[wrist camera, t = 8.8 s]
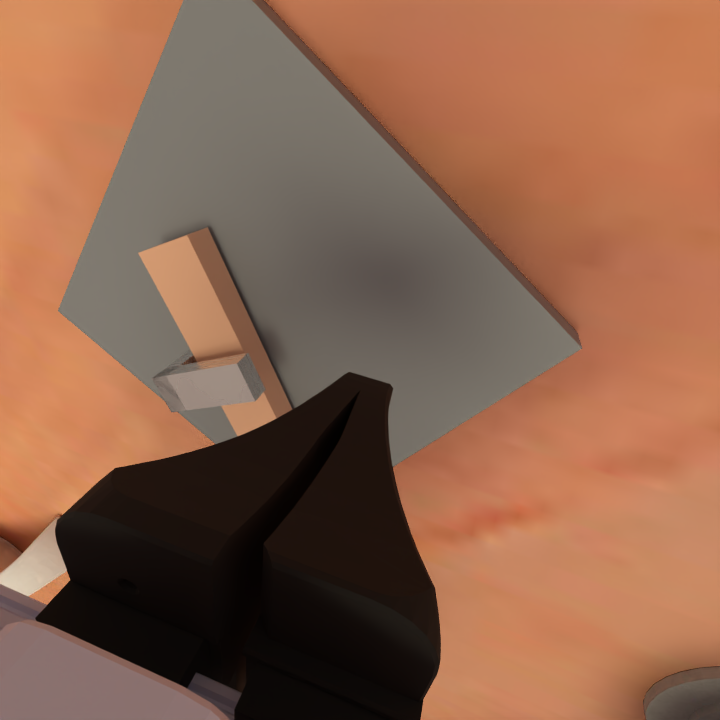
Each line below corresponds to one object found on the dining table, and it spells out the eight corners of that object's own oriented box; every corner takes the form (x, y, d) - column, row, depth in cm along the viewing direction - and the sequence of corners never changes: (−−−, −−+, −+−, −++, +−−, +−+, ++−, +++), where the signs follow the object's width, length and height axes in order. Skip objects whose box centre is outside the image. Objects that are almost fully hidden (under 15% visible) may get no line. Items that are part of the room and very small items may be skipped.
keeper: (288, 363, 22) (255, 401, 20) (211, 376, 25) (171, 412, 22) (273, 329, 22) (236, 363, 19) (195, 345, 24) (151, 378, 21)
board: (315, 503, 30) (306, 520, 28) (78, 301, 27) (57, 310, 26) (577, 332, 19) (582, 348, 18) (227, -39, 16) (203, -51, 15)
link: (330, 480, 25) (300, 540, 22) (279, 482, 27) (244, 539, 23) (212, 225, 19) (145, 251, 16) (155, 245, 21) (83, 274, 17)
